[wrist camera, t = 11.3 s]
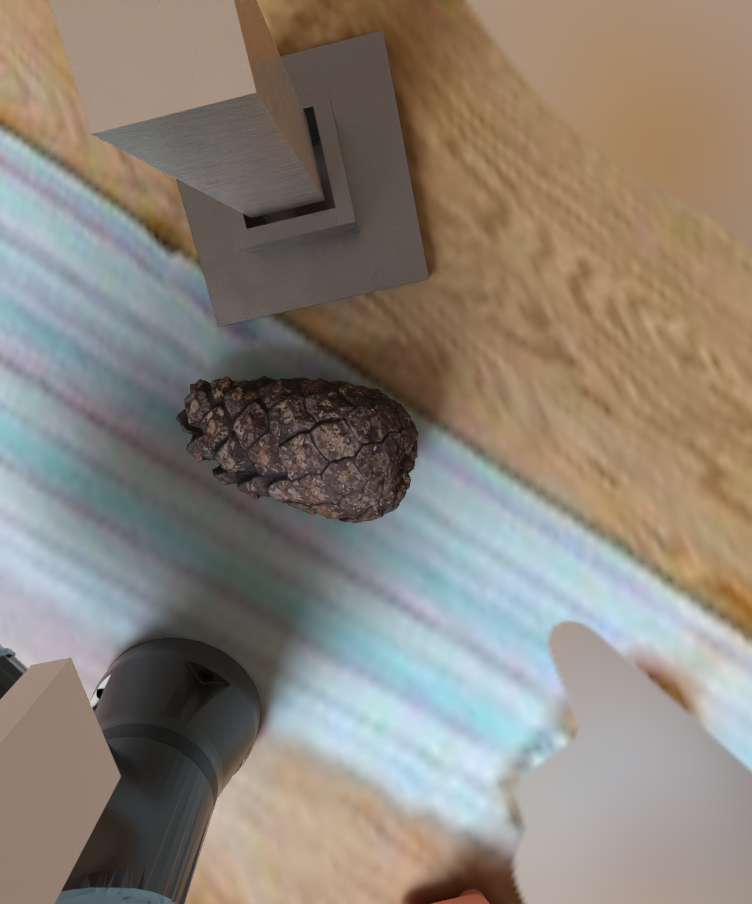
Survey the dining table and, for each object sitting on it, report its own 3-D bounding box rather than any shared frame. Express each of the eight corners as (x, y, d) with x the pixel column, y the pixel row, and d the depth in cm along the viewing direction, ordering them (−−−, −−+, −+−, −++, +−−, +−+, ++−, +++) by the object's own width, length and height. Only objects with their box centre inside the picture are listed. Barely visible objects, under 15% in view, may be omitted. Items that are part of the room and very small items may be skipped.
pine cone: (194, 361, 46) (145, 381, 36) (419, 376, 46) (430, 400, 36) (196, 485, 49) (152, 535, 39) (408, 499, 49) (416, 552, 39)
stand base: (223, 325, 45) (117, 353, 26) (158, 96, 40) (-23, -59, 22) (427, 279, 44) (462, 275, 25) (382, 39, 39) (386, -172, 21)
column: (251, 217, 34) (91, 134, 15) (226, 122, 33) (15, -104, 14) (325, 200, 34) (256, 92, 15) (303, 103, 33) (196, -155, 14)
